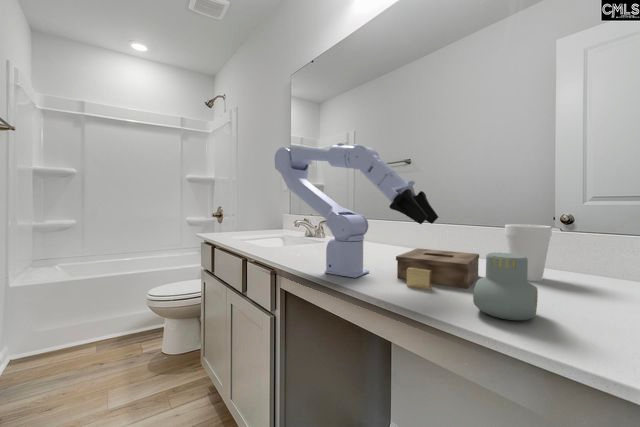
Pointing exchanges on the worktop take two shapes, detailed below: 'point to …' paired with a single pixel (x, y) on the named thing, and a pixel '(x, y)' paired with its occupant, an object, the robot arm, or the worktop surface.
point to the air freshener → (506, 288)
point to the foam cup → (530, 246)
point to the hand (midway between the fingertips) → (429, 220)
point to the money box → (441, 266)
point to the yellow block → (419, 278)
